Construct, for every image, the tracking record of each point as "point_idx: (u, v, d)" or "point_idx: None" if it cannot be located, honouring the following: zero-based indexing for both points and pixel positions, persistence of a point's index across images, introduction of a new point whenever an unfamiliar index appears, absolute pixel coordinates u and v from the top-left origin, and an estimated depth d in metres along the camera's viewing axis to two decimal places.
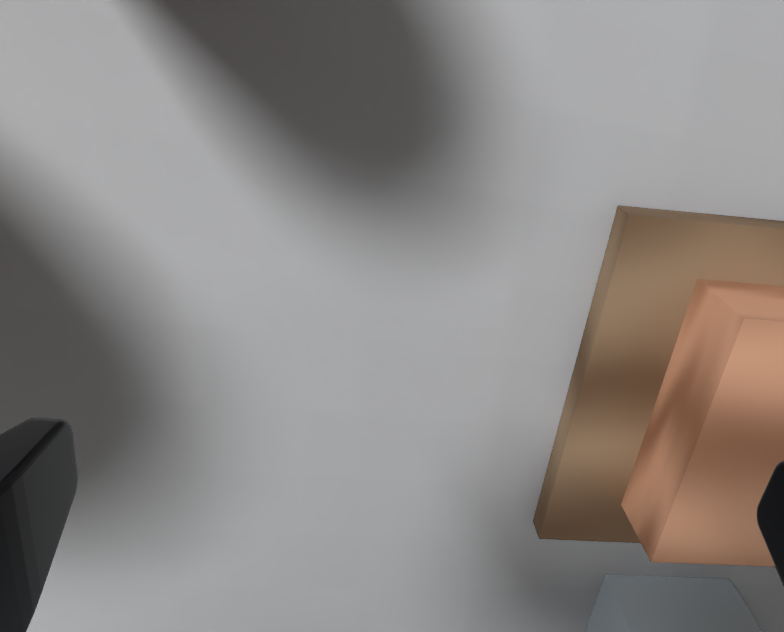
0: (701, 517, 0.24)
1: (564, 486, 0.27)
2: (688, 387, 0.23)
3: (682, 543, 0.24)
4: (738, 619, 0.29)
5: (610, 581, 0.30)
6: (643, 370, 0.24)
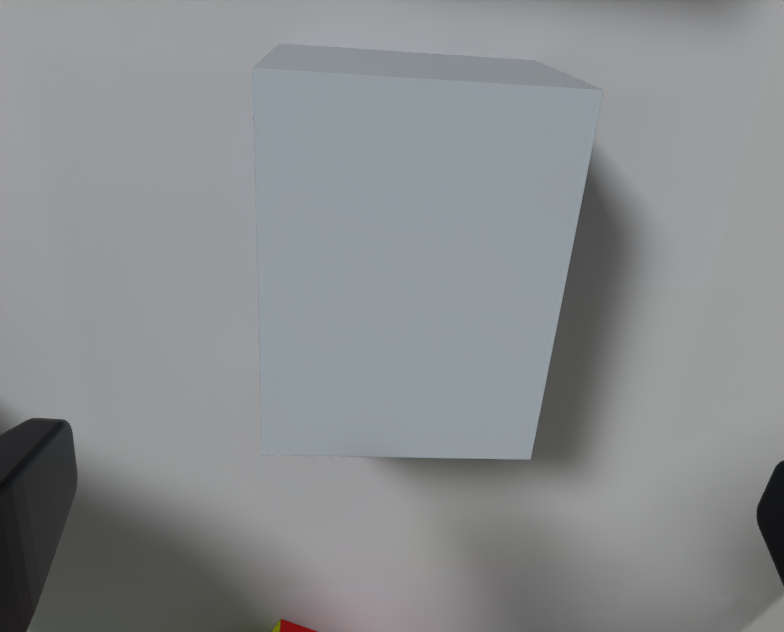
0: None
1: None
2: None
3: None
4: (523, 69, 0.14)
5: (283, 46, 0.15)
6: None
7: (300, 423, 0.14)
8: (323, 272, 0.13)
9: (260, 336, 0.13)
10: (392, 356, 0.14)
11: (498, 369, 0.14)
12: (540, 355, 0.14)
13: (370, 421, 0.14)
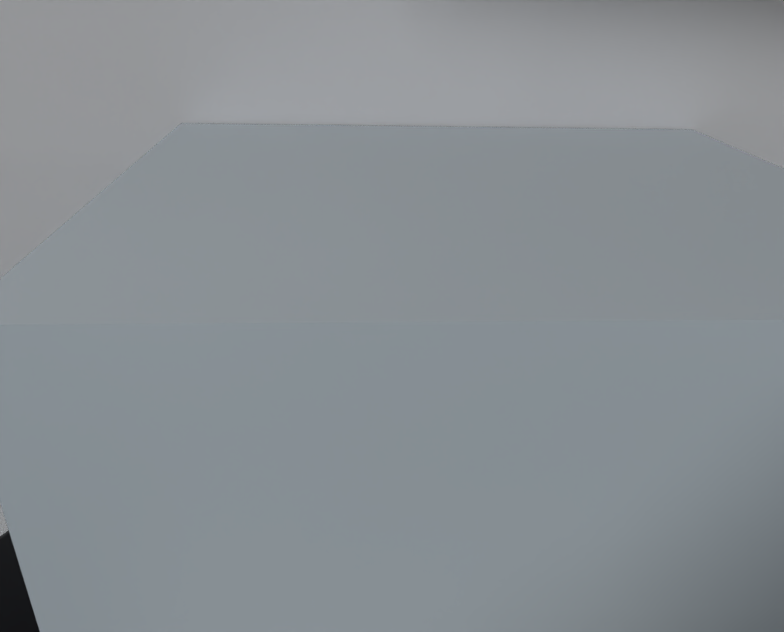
0: None
1: None
2: None
3: None
4: (732, 182, 0.06)
5: (182, 136, 0.07)
6: None
7: None
8: None
9: None
10: None
11: None
12: None
13: None
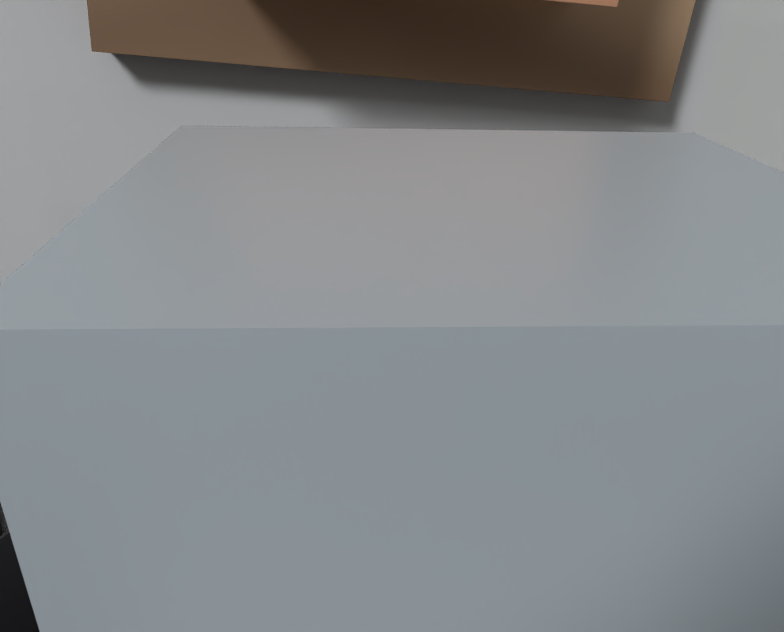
0: None
1: None
2: None
3: None
4: (732, 186, 0.06)
5: None
6: None
7: None
8: None
9: None
10: None
11: None
12: None
13: None
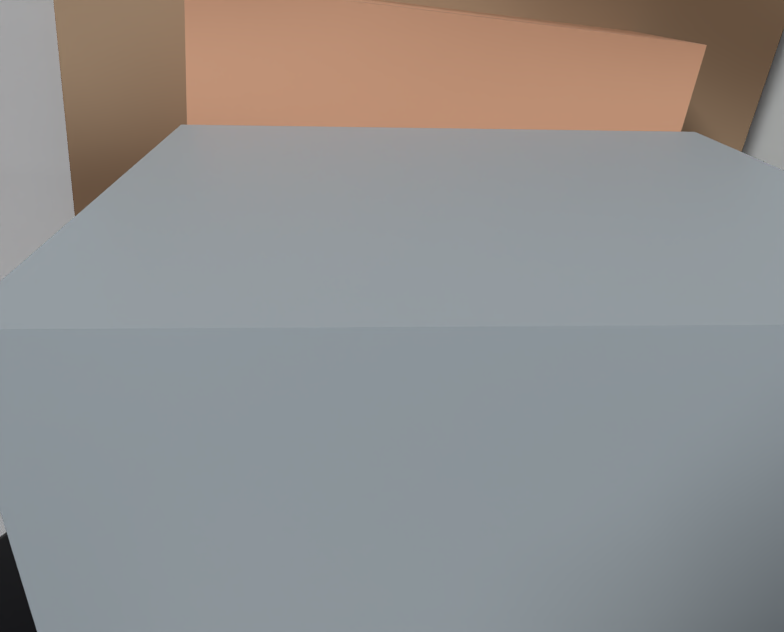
0: None
1: None
2: None
3: None
4: (735, 185, 0.06)
5: (182, 137, 0.07)
6: None
7: None
8: None
9: None
10: None
11: None
12: None
13: None
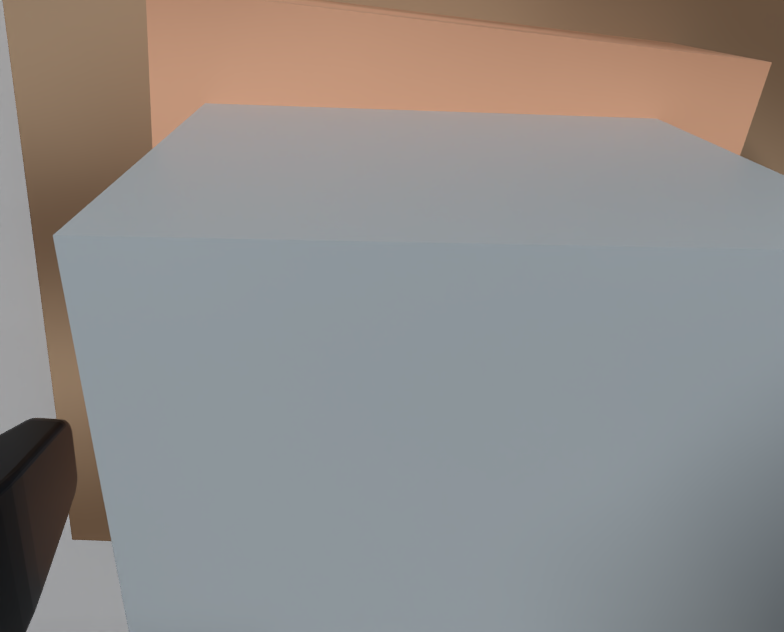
0: None
1: (81, 444, 0.14)
2: None
3: None
4: (678, 158, 0.07)
5: None
6: None
7: None
8: (275, 631, 0.06)
9: None
10: None
11: None
12: None
13: None
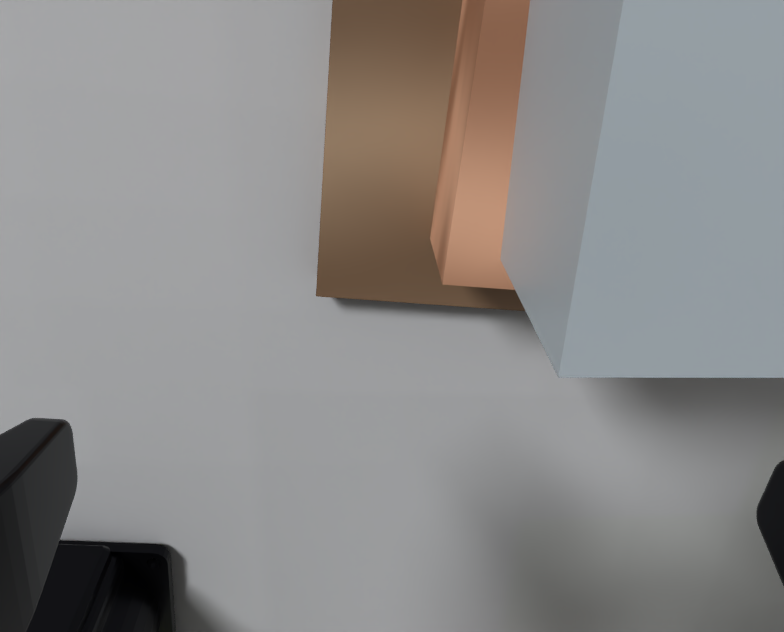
0: None
1: (338, 203, 0.18)
2: None
3: (487, 249, 0.15)
4: None
5: None
6: None
7: (617, 332, 0.11)
8: (695, 105, 0.09)
9: (589, 205, 0.10)
10: (761, 232, 0.10)
11: None
12: None
13: (710, 327, 0.11)
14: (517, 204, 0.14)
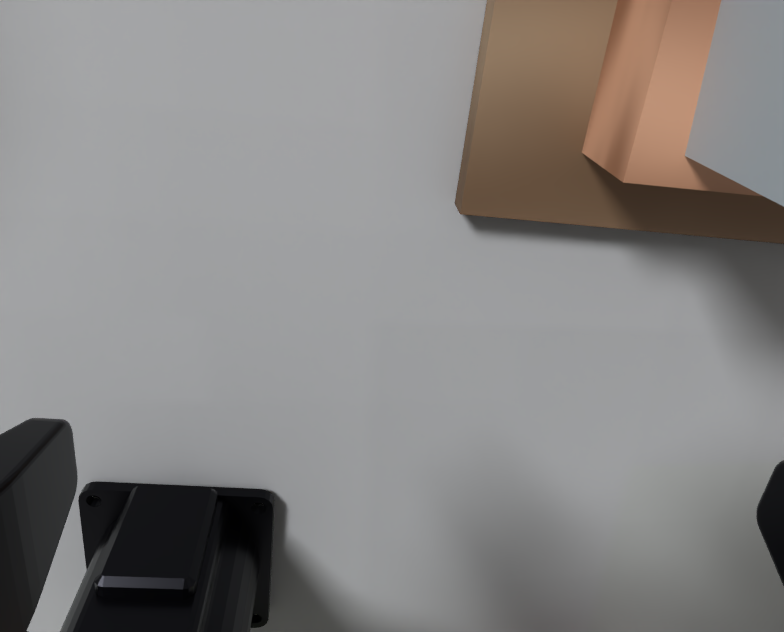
0: None
1: (494, 112, 0.17)
2: None
3: (673, 144, 0.15)
4: None
5: None
6: None
7: None
8: None
9: None
10: None
11: None
12: None
13: None
14: (725, 85, 0.14)
